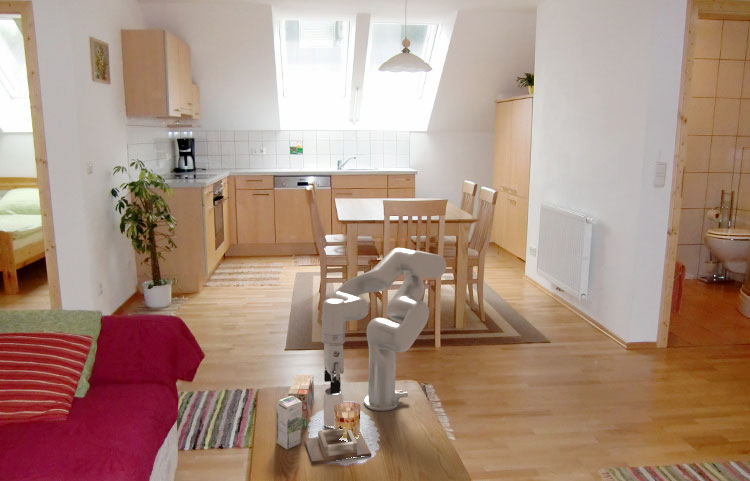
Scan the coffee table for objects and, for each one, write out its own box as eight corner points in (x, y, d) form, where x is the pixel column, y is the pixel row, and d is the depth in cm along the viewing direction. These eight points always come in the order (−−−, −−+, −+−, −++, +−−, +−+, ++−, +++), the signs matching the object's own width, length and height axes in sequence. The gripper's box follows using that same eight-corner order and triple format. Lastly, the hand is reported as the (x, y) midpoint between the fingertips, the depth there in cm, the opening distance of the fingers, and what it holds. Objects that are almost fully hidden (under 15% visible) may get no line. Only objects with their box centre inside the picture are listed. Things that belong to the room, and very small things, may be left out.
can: (347, 424, 193) (347, 391, 191) (332, 431, 189) (333, 397, 187) (333, 418, 198) (334, 385, 196) (319, 424, 193) (319, 390, 191)
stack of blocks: (296, 398, 212) (296, 366, 210) (314, 398, 212) (314, 366, 210) (288, 427, 191) (288, 392, 189) (307, 428, 191) (307, 393, 189)
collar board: (360, 434, 187) (360, 423, 186) (371, 456, 175) (371, 443, 174) (304, 441, 182) (304, 430, 182) (312, 464, 170) (311, 451, 169)
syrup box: (291, 436, 185) (290, 394, 182) (302, 444, 181) (302, 400, 178) (276, 443, 181) (275, 399, 179) (287, 450, 177) (287, 406, 174)
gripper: (351, 345, 180) (349, 397, 183) (338, 328, 197) (337, 376, 200) (327, 347, 178) (326, 399, 181) (317, 329, 195) (316, 377, 197)
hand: (332, 387), depth 190 cm, fingers open, 9 cm apart
